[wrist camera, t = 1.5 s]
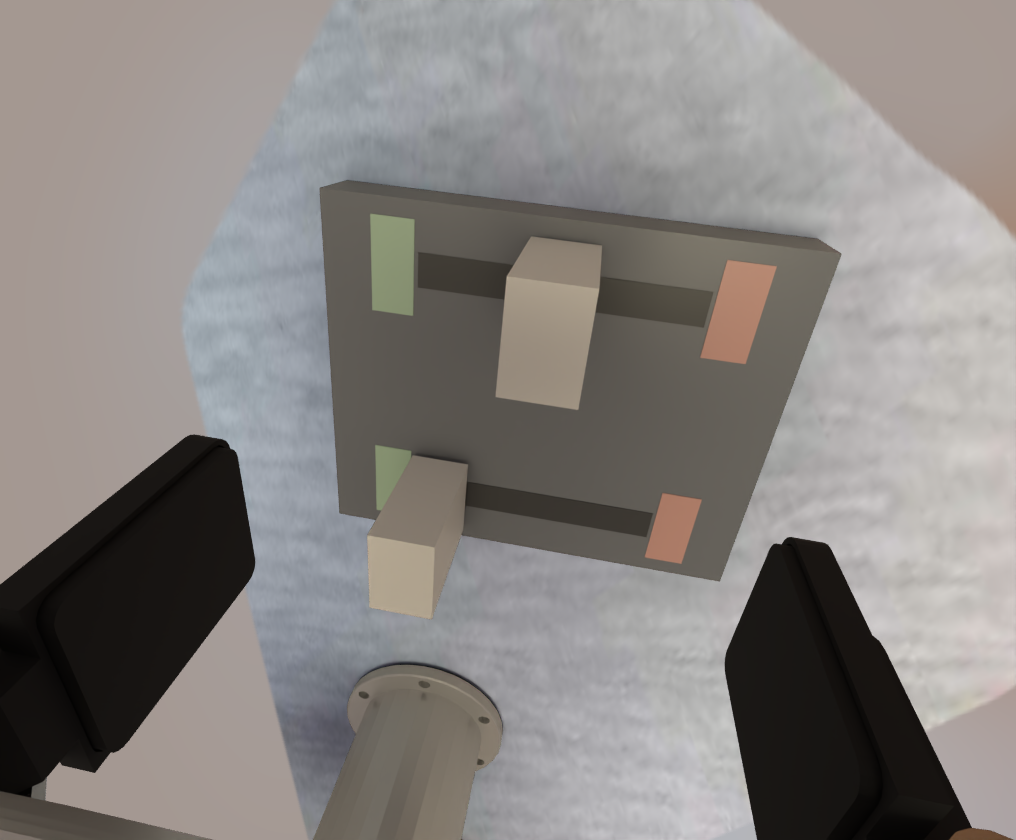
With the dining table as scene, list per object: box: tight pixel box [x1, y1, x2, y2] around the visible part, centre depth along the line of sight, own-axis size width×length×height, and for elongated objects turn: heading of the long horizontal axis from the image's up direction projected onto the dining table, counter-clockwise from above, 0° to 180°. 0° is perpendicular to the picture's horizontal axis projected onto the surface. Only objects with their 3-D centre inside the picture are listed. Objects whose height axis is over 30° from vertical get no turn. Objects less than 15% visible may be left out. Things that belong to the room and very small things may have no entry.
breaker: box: [367, 455, 468, 619], centre depth 29 cm, size 4×3×7 cm
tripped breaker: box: [495, 236, 602, 410], centre depth 23 cm, size 4×3×7 cm
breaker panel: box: [320, 180, 841, 581], centre depth 30 cm, size 18×22×3 cm
